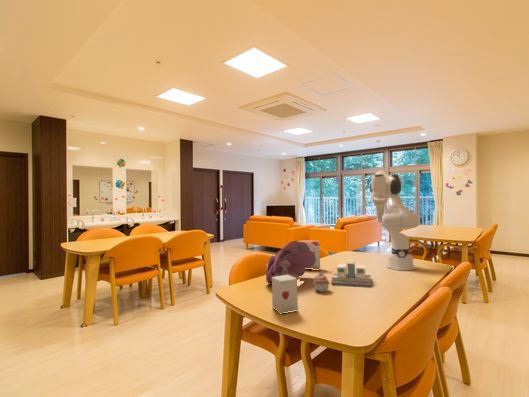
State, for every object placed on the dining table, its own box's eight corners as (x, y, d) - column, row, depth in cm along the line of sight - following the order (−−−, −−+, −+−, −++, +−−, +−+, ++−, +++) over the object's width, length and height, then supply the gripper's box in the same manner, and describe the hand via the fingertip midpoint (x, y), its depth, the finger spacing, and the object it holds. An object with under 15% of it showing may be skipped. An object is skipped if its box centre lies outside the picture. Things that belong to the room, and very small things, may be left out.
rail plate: (334, 276, 186) (334, 262, 186) (370, 278, 179) (369, 263, 179) (331, 284, 168) (330, 269, 168) (371, 287, 161) (370, 270, 161)
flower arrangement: (290, 301, 156) (296, 252, 152) (254, 288, 168) (258, 242, 163) (314, 279, 186) (319, 238, 181) (282, 269, 198) (285, 230, 193)
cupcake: (311, 292, 155) (310, 274, 155) (314, 287, 164) (313, 270, 164) (328, 294, 152) (328, 275, 152) (331, 289, 160) (330, 271, 161)
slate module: (348, 276, 177) (347, 261, 177) (355, 276, 176) (354, 261, 176) (347, 278, 171) (347, 263, 171) (354, 279, 170) (354, 263, 170)
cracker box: (299, 269, 208) (298, 241, 208) (301, 268, 213) (300, 240, 214) (319, 271, 202) (317, 241, 203) (320, 269, 208) (319, 240, 208)
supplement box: (280, 315, 125) (279, 281, 126) (272, 308, 134) (270, 276, 134) (298, 311, 129) (297, 278, 129) (289, 305, 137) (288, 274, 138)
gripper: (373, 200, 189) (374, 220, 189) (374, 200, 170) (375, 223, 170) (383, 199, 187) (384, 220, 187) (385, 199, 168) (386, 223, 168)
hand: (380, 222), depth 178 cm, fingers open, 8 cm apart
